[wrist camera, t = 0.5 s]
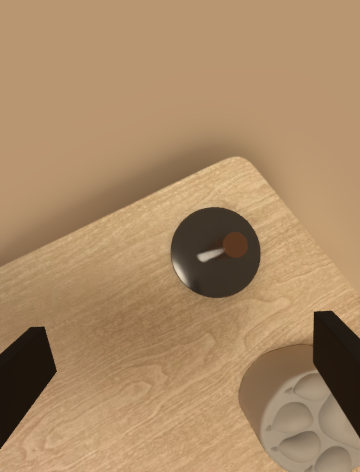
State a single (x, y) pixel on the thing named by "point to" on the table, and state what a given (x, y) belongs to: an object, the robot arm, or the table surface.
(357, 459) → the lumpy-topped squat cylinder
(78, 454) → the table surface
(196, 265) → the lid
